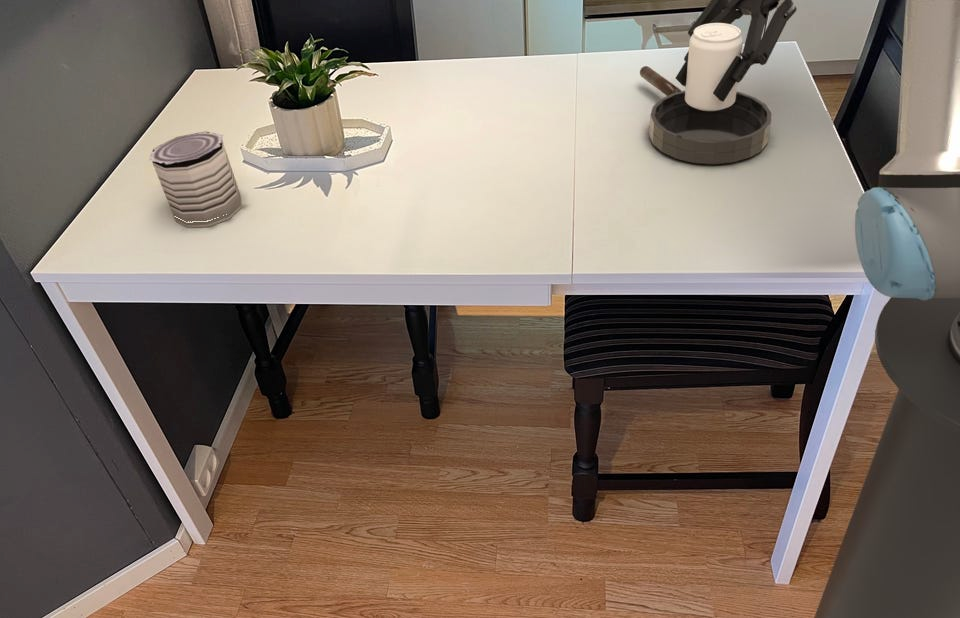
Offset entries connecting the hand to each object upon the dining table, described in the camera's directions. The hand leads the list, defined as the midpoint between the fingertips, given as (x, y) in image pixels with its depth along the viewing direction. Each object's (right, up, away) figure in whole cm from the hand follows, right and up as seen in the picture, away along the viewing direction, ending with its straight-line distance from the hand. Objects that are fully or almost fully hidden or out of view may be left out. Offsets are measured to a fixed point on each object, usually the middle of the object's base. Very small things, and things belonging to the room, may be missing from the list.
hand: (699, 89), depth 127 cm
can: (-80, -19, +4) cm, 83 cm away
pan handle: (-2, +5, +18) cm, 19 cm away
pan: (+4, -6, +8) cm, 10 cm away
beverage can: (+3, -1, +4) cm, 5 cm away
